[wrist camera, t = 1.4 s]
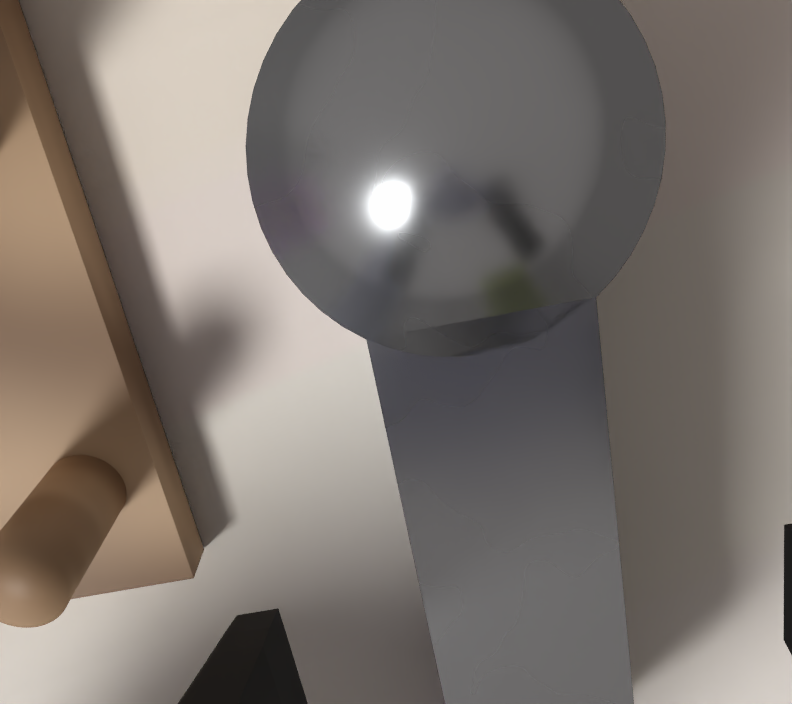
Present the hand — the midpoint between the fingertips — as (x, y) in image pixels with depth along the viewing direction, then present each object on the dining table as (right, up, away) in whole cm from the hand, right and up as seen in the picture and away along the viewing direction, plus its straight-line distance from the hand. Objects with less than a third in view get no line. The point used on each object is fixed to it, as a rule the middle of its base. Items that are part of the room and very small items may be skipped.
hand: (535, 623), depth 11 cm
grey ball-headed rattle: (0, +2, +5) cm, 6 cm away
